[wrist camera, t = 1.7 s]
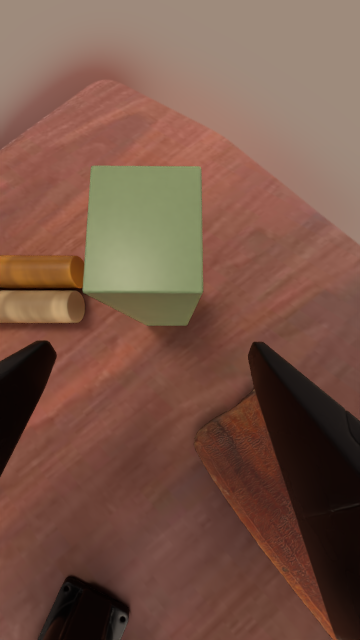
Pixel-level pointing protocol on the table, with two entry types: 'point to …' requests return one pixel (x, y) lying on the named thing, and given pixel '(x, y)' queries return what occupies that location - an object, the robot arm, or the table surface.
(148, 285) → the bar
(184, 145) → the table surface
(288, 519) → the wooden tablet
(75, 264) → the rods
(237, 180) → the table surface
